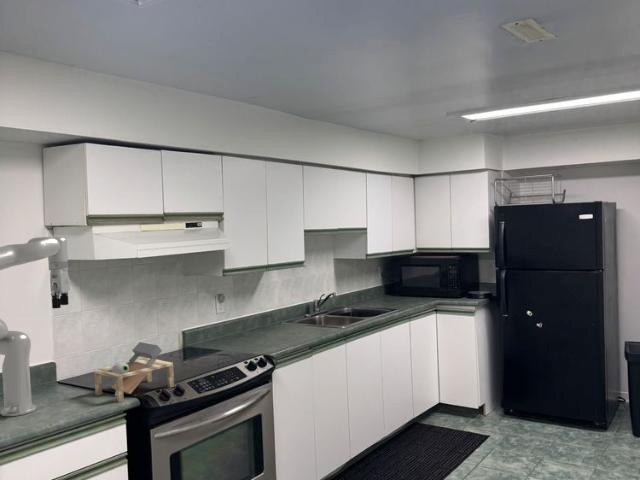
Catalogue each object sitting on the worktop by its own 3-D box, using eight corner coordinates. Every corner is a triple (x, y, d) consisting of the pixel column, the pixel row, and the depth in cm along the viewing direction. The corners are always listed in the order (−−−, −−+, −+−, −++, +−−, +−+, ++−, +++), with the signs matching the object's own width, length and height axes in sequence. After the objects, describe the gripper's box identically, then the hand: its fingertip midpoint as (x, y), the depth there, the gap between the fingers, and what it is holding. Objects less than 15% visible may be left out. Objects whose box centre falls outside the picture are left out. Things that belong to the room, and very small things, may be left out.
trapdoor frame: (149, 380, 271) (148, 357, 270) (174, 386, 258) (173, 362, 258) (95, 394, 251) (94, 370, 250) (119, 402, 238) (117, 376, 238)
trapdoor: (146, 350, 267) (139, 342, 264) (164, 354, 258) (157, 345, 255) (112, 388, 254) (104, 379, 251) (130, 393, 245) (122, 384, 242)
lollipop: (113, 390, 243) (120, 357, 252) (103, 395, 246) (110, 362, 255) (127, 396, 247) (134, 363, 256) (117, 400, 250) (124, 368, 260)
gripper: (60, 267, 240) (62, 309, 241) (74, 264, 258) (76, 303, 258) (41, 268, 240) (43, 310, 240) (56, 265, 257) (58, 304, 257)
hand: (60, 306), depth 249 cm, fingers open, 9 cm apart
